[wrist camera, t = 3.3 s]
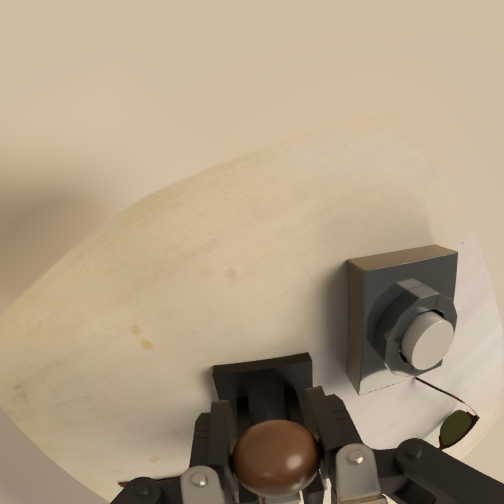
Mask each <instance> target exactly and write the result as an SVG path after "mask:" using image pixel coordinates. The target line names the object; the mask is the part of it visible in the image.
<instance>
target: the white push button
mask: <svg viewBox="0 0 504 504" xmlns="http://www.w3.org/2000/svg"><path fill="white" fill-rule="evenodd" d="M453 336H454V330H453V327H452V325H451V323H450V322H448V321H447V320H445V319H444V318H442V317H441V316H440V315H438V314H437V313H435V312H425V313H422V314H420V315H419V316H417V317H416V318H415V319H414V320H413V321H412V322H411V323H410V324H409V325H408V327H407V329H406V330H405V332H404V334H403V336H402V339H401V352H402V354H403V355H404V356H405V358H406V359H407V360H408V361H409V362H410V363H411V364H412V365H413V366H414V367H415V368H416V369H419V370H425V369H429V368H431V367H433V366H435V365H436V364H437V363H438V362H440V361H441V360H442V359H443V357H444V356H445V355H446V353H447V352H448V350H449V348H450V346H451V344H452V341H453Z"/></svg>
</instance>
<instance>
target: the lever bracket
mask: <svg viewBox="0 0 504 504" xmlns="http://www.w3.org/2000/svg"><path fill="white" fill-rule="evenodd" d="M212 375H213V379H214V383H215V386H216V390H217V394H218V397H219V401H220V400H229V401H230V404H231V408H232V412H233V415H234V419H235V423H236V430H237V440H238V439H239V437H240V436H241V435H242V434H243V433H244V432H245V431H246V430H248V429H249V428H251V427H252V426H254V425H256V424H258V423H261V422H264V421H268V420H287V421H292V422H295V423H297V424H300V425H301V426H303V427H305V428H306V429H307V430H308V428H307V424H306V420H305V412H304V389H308V388H313V378H312V359H311V357H310V355H309V353H302V354H297V355H291V356H285V357H279V358H273V359H266V360H259V361H252V362H244V363H235V364H226V365H216V366H213V374H212ZM325 490H327V482H326V479H322V476H321V474H320V472H319V471H318V473H317V475H316V476H315V478H314V479H313V481H312V482H311V483H310V484H309V485H308V486H306V487H305V488H304V489H302V495H303V499H304V504H323V499H324V492H325ZM234 493H235V500H236V502H237V503H239V504H262V501H261V495H258V494H255V493H253V492H251V491H250V490H248V489H247V488H245V487H244V486H243V485H242V484H241V483H240V482H239V480H238V492H234Z"/></svg>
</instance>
